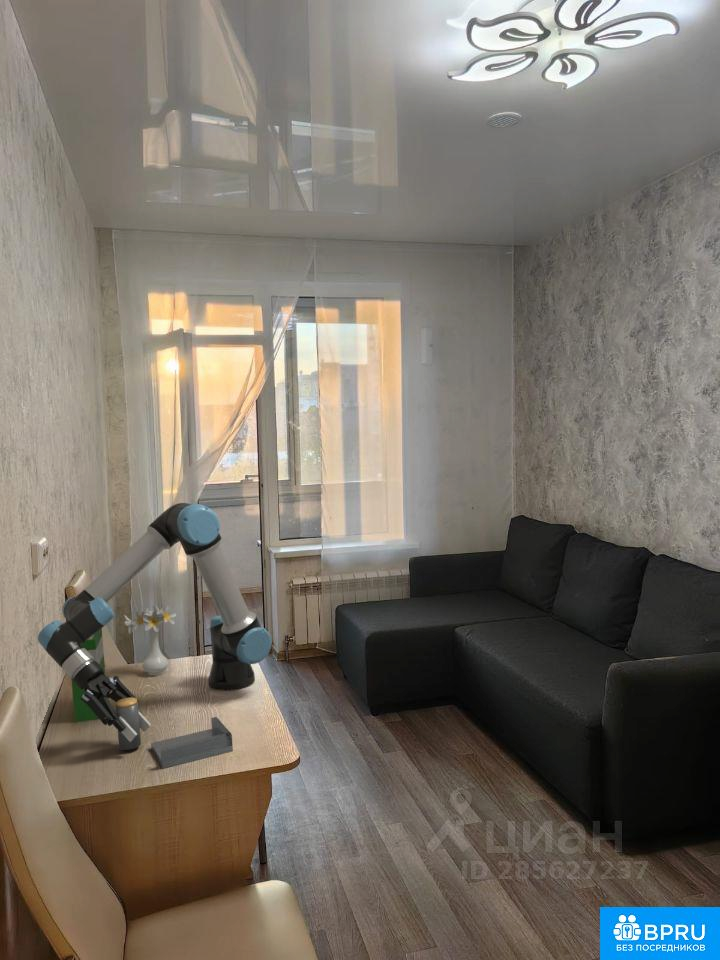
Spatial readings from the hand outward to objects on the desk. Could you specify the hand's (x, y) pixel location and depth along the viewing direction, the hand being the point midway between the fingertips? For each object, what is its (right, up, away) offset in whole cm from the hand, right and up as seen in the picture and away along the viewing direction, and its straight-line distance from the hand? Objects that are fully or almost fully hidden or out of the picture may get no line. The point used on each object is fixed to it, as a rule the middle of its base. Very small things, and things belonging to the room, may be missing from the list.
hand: (140, 733), depth 194 cm
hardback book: (-25, -4, +32) cm, 41 cm away
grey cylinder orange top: (-3, -4, +1) cm, 5 cm away
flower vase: (-14, -2, +64) cm, 66 cm away
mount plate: (+14, -4, -1) cm, 14 cm away
